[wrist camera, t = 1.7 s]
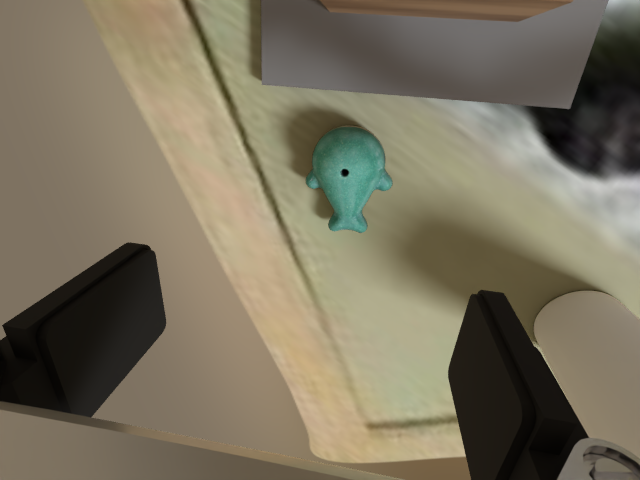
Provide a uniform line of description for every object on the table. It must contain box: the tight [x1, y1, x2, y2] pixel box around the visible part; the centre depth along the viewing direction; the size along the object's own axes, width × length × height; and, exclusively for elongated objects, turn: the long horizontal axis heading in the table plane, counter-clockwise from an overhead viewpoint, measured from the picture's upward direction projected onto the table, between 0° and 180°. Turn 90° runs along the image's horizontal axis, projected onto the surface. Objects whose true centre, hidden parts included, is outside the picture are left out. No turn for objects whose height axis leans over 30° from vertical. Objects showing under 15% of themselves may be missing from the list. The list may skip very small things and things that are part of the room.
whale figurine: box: [306, 126, 392, 233], centre depth 23 cm, size 6×7×4 cm
